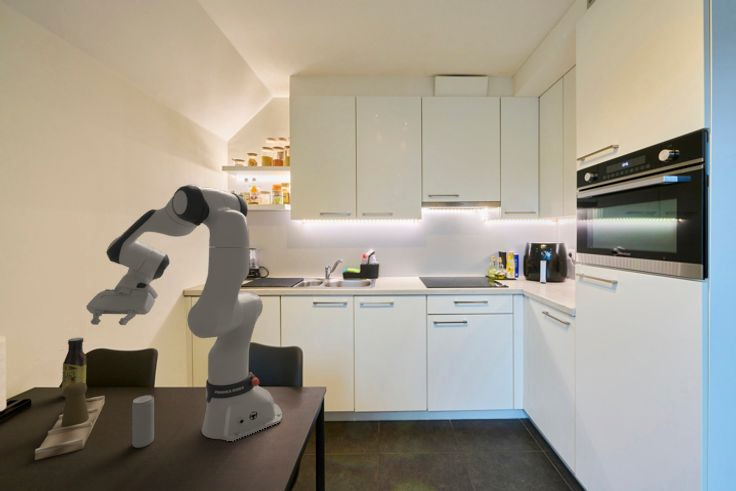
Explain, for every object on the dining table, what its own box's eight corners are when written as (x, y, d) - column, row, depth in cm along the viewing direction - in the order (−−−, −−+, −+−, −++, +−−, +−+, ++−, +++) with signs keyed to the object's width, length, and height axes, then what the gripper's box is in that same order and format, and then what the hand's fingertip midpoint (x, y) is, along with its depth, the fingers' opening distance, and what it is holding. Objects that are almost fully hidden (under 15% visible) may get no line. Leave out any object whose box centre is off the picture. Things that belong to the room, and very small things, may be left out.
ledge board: (104, 402, 108) (104, 395, 108) (82, 448, 84) (82, 439, 84) (68, 409, 104) (69, 402, 104) (35, 460, 80) (35, 450, 80)
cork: (72, 428, 91) (72, 389, 91) (55, 426, 92) (55, 387, 92) (94, 417, 97) (94, 380, 96) (78, 415, 98) (78, 379, 98)
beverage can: (134, 440, 88) (135, 396, 88) (155, 436, 90) (155, 393, 90) (129, 450, 84) (129, 404, 84) (151, 446, 86) (151, 401, 85)
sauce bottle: (57, 398, 112) (56, 340, 112) (76, 389, 118) (76, 335, 118) (72, 399, 111) (72, 341, 110) (91, 391, 117) (91, 336, 117)
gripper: (97, 284, 113) (70, 318, 103) (153, 284, 113) (132, 319, 103) (107, 294, 118) (83, 328, 108) (162, 295, 117) (142, 329, 107)
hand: (107, 324), depth 105 cm, fingers open, 8 cm apart
